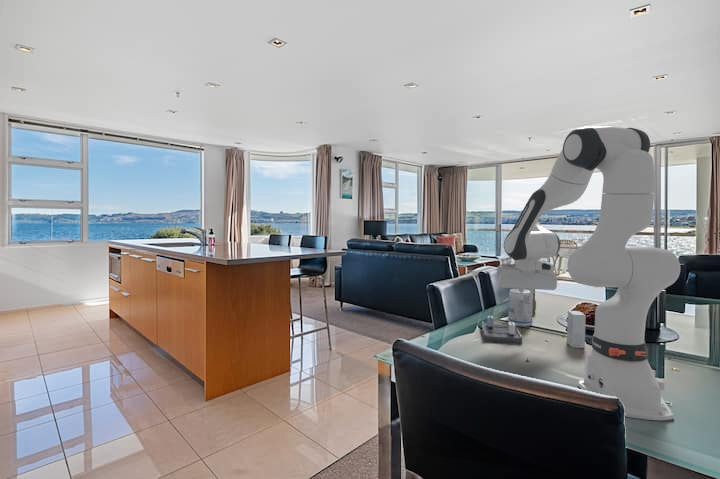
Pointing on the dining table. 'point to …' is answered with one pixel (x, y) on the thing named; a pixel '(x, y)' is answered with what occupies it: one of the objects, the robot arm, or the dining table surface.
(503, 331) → the grey tray
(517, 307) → the supplement tub
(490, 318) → the fader slate
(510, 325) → the fader ivory
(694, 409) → the dining table surface
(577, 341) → the skincare box
